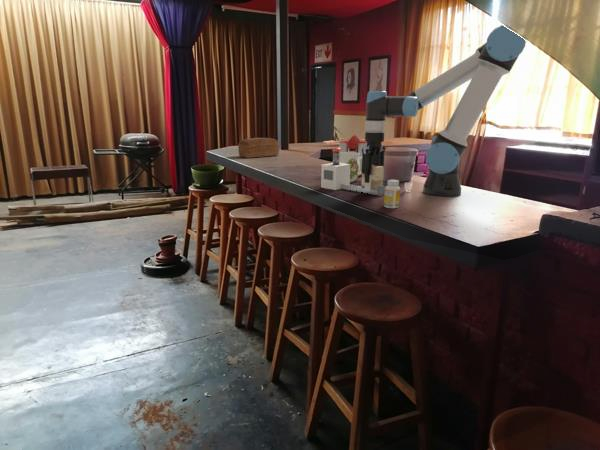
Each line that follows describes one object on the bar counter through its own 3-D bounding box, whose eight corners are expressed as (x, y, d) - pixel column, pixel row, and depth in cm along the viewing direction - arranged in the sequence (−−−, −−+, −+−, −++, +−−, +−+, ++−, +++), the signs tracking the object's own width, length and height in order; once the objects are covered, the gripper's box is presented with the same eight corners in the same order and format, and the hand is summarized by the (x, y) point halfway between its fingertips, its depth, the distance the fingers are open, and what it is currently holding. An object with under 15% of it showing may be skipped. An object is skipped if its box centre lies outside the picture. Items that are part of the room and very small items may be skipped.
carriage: (382, 188, 177) (383, 166, 174) (375, 190, 173) (376, 167, 170) (368, 186, 181) (369, 164, 179) (361, 187, 177) (362, 165, 175)
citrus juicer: (335, 176, 215) (336, 136, 210) (340, 171, 232) (341, 133, 226) (366, 178, 212) (368, 136, 206) (369, 172, 228) (371, 134, 222)
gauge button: (341, 164, 187) (342, 148, 185) (336, 165, 185) (337, 148, 183) (335, 164, 190) (335, 147, 188) (330, 164, 187) (330, 148, 185)
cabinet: (349, 186, 191) (350, 164, 188) (335, 190, 184) (335, 166, 181) (335, 184, 196) (335, 162, 193) (320, 187, 189) (321, 164, 186)
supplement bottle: (386, 208, 153) (387, 182, 151) (382, 205, 158) (383, 179, 156) (401, 208, 154) (402, 181, 151) (396, 204, 159) (398, 179, 156)
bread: (235, 157, 288) (234, 138, 284) (270, 154, 304) (270, 136, 300) (246, 159, 277) (245, 139, 274) (282, 156, 293) (282, 137, 290)
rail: (384, 194, 176) (384, 186, 175) (379, 196, 173) (379, 187, 172) (345, 187, 189) (345, 179, 188) (340, 189, 186) (340, 180, 185)
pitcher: (371, 181, 204) (373, 152, 200) (337, 184, 197) (338, 153, 193) (360, 177, 213) (361, 149, 210) (327, 180, 207) (328, 151, 203)
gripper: (379, 130, 179) (376, 185, 186) (353, 132, 167) (351, 191, 173) (395, 131, 175) (391, 187, 181) (369, 133, 162) (366, 194, 168)
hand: (371, 189), depth 177 cm, fingers closed on carriage, 5 cm apart
